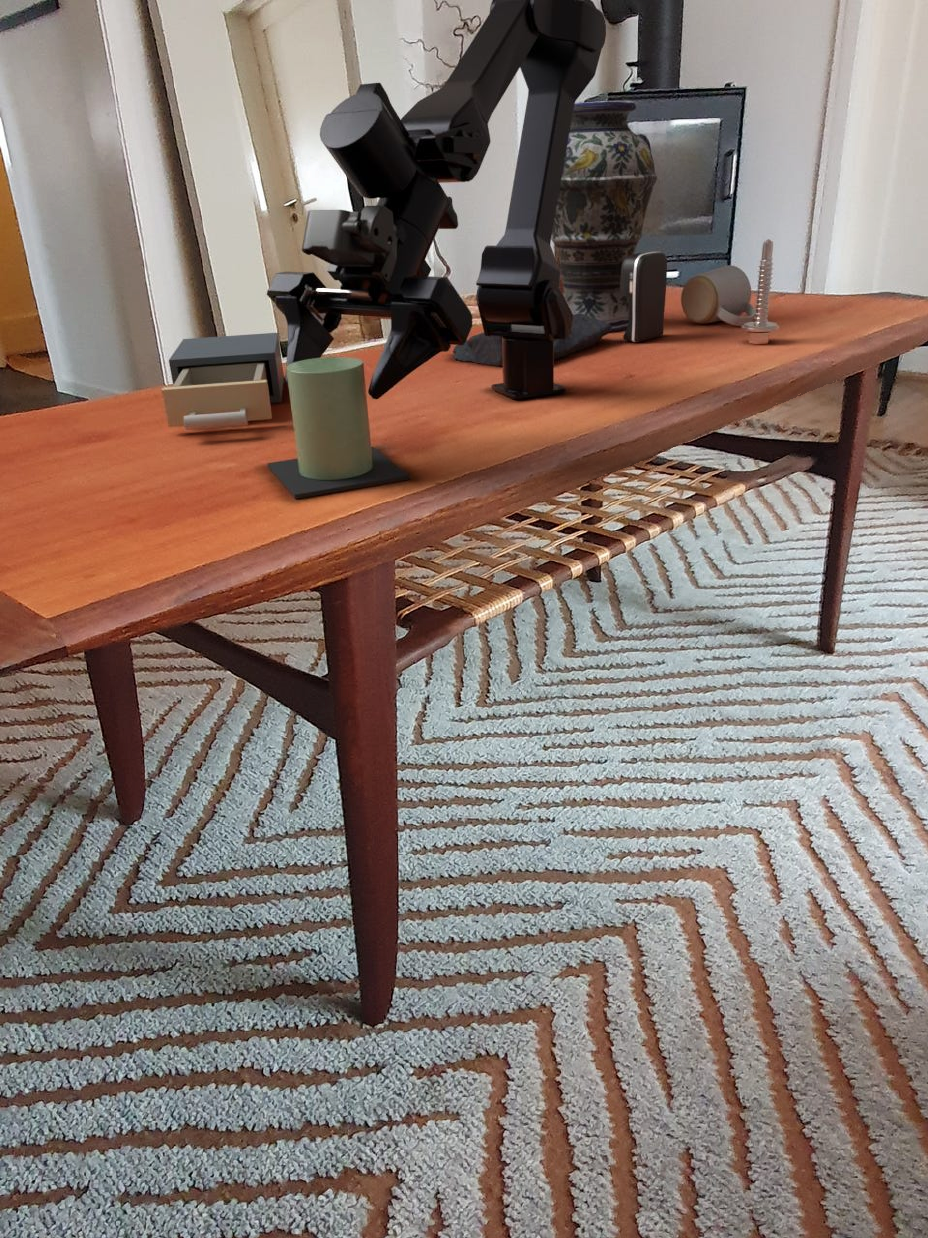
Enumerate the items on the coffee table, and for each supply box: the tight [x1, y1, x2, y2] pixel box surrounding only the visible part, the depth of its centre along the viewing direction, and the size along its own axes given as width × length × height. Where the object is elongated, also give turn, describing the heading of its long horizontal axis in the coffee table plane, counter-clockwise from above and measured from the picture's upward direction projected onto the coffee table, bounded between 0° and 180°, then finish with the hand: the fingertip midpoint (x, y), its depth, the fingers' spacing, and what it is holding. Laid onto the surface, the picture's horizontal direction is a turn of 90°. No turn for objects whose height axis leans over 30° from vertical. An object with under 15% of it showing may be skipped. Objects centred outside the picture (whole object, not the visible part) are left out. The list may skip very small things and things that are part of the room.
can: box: [285, 356, 373, 480], centre depth 80 cm, size 6×6×9 cm
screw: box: [740, 238, 780, 345], centre depth 123 cm, size 13×5×5 cm
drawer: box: [161, 361, 273, 431], centre depth 99 cm, size 16×10×4 cm, turn 9°
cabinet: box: [168, 332, 285, 404], centre depth 111 cm, size 14×12×6 cm
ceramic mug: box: [680, 265, 756, 327], centre depth 139 cm, size 11×8×8 cm
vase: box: [551, 100, 658, 333], centre depth 136 cm, size 17×17×30 cm
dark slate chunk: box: [452, 313, 612, 367], centre depth 127 cm, size 15×22×5 cm
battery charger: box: [620, 251, 668, 343], centre depth 130 cm, size 7×4×11 cm, turn 137°
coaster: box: [267, 446, 411, 500], centre depth 82 cm, size 10×10×1 cm
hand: (329, 391), depth 79 cm, fingers open, 9 cm apart
